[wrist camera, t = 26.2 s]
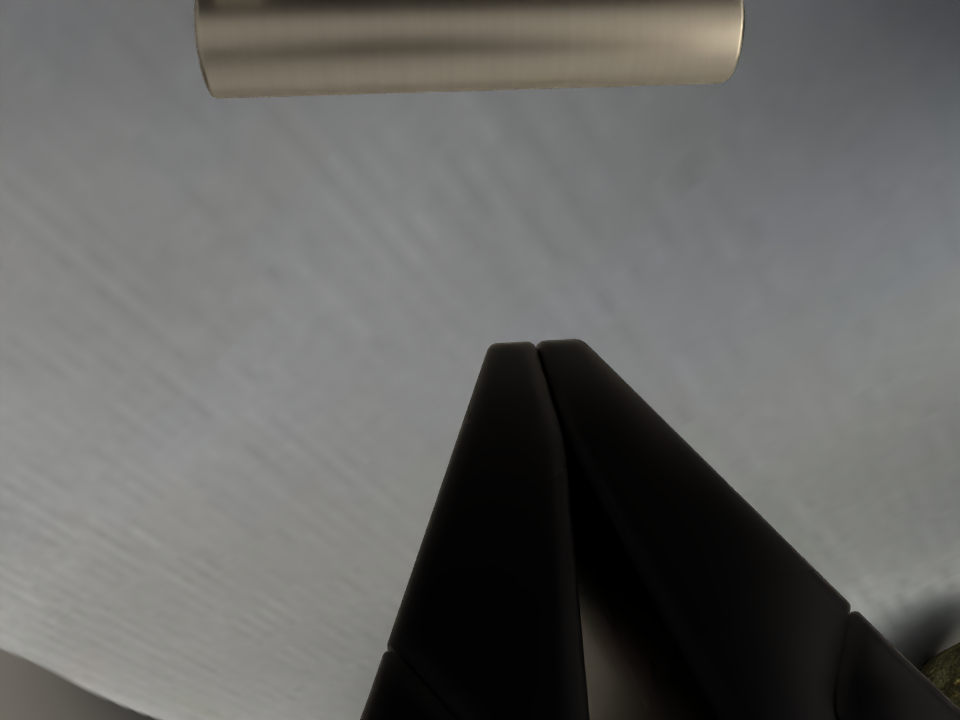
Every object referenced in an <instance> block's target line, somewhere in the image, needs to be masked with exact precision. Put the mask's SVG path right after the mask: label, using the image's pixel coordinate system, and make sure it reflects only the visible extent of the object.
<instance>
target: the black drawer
mask: <svg viewBox="0 0 960 720" xmlns="http://www.w3.org/2000/svg"><path fill="white" fill-rule="evenodd" d="M194 27H195V38H196V46H197V53H198V59H199V64H200V68H201V72H202V76H203V79H204V82H205V85H206V87H207V89H208V91H209V93H210V94H211V96H213V97H215V98H251V97H285V96H318V95H351V94H385V93H418V92H451V91H485V90H518V89H551V88H585V87H618V86H651V85H685V84H718V83H722V82H724V81H726V80H728V79H729V78H730V77H731V75H732V74H733V72H734V70H735V68H736V66H737V63H738V60H739V57H740V53H741V49H742V44H743V38H744V27H745V11H744V0H195V3H194Z"/></svg>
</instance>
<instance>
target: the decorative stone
mask: <svg viewBox="0 0 960 720" xmlns="http://www.w3.org/2000/svg"><path fill="white" fill-rule="evenodd" d="M921 673H922V674H923V675H925V676H926V677H927V678H928V679H929V680H930V681H931V682H932V683H933V684H934V685H935V686H936V687H937V688H938V689H939V690H940V691H942V692H943V693H944V694H945V695H946V696H947V697H948V698H949V699H950V700H951V701H952V702H953V703H954V704H955V705H956V706H957V707H959V708H960V643H958V644H956V645H954V646H952V647H950V648H948V649H946V650H944V651H942V652H941V653H939V654H937V655H936V656H935V657H933V658H932V659H931V660H930V661H929V662H928V663H927V664H926V665H925V666H924V667H923V669H922V670H921Z"/></svg>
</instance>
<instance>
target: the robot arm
mask: <svg viewBox="0 0 960 720" xmlns="http://www.w3.org/2000/svg"><path fill="white" fill-rule="evenodd" d="M387 647H388V651H386V652H385V653H384V654H383V657H382V660H381V662H380V665H379V668H378V671H377V674H376V677H375V680H374V683H373V686H372V689H371V692H370V695H369V697H368V700H367V703H366V705H365V708H364V711H363V713H362V716H361V719H360V720H960V708H959V707H957V706H956V705H955V704H954V703H953V702H952V701H951V700H950V699H949V698H948V697H947V696H946V695H945V694H944V693H943V692H942V691H940V690H939V689H938V688H937V687H936V686H935V685H934V684H933V683H932V682H931V681H930V680H929V679H928V678H927V677H926V676H925V675H923V674H922V673H921V672H920V671H919V670H918V669H917V668H916V667H915V666H914V665H913V664H912V663H911V662H910V661H909V660H908V659H906V658H905V657H904V656H903V655H902V654H901V653H900V652H899V651H898V650H897V649H896V648H895V647H894V646H893V645H892V644H891V643H890V642H889V641H888V640H887V639H886V638H885V637H884V636H883V635H882V634H881V633H880V632H879V631H878V630H877V629H876V628H875V627H874V626H873V625H872V624H871V623H870V622H869V621H868V620H866V619H865V618H864V617H863V616H862V615H861V614H860V613H859V612H857V611H854V612H851V613H850V604H849V602H848V601H847V600H846V599H845V598H844V597H843V596H842V595H841V594H840V593H839V592H838V591H837V590H836V589H835V588H834V587H833V586H832V585H830V584H829V583H828V582H827V581H826V580H825V579H824V578H823V577H822V576H821V575H820V574H819V573H818V572H817V571H816V570H815V569H814V568H813V567H812V566H811V565H810V564H809V563H808V562H807V561H806V560H805V559H804V558H803V557H802V556H801V555H800V554H799V553H798V552H797V551H796V550H795V549H794V548H793V547H792V546H791V545H790V544H789V543H788V542H787V541H786V540H785V539H784V538H783V537H782V536H781V535H780V534H779V533H778V532H777V531H776V530H775V529H774V528H773V527H772V526H771V525H770V524H769V523H768V522H767V521H766V520H765V519H764V518H763V517H762V516H761V515H760V514H759V513H758V512H757V511H756V510H755V509H754V508H753V507H752V506H750V505H749V504H748V503H747V502H746V501H745V500H744V499H743V498H742V497H741V496H740V495H739V494H738V493H737V492H736V491H735V490H734V489H733V488H732V487H731V486H730V485H729V484H728V483H727V482H726V481H725V480H724V479H723V478H722V477H721V476H720V475H719V474H718V473H717V472H716V471H715V470H714V469H713V468H712V467H711V466H710V465H709V464H708V463H707V462H706V461H705V460H704V459H703V458H702V457H701V456H700V455H699V454H698V453H697V452H696V451H695V450H694V449H693V448H692V447H691V446H690V445H689V444H688V443H687V442H686V441H685V440H684V439H683V438H682V437H681V436H680V435H679V434H678V433H677V432H676V431H675V430H674V429H673V428H672V427H670V426H669V425H668V424H667V423H666V422H665V421H664V420H663V419H662V418H661V417H660V416H659V415H658V414H657V413H656V412H655V411H654V410H653V409H652V408H651V407H650V406H649V405H648V404H647V403H646V402H645V401H644V400H643V399H642V398H641V397H640V396H639V395H638V394H637V393H636V392H635V391H634V390H633V389H632V388H631V387H630V386H629V385H628V384H627V383H626V382H625V381H624V380H623V379H622V378H621V377H620V376H619V375H618V374H617V373H616V372H615V371H614V370H613V369H612V368H611V367H610V366H609V365H608V364H607V363H606V362H605V361H604V360H603V359H602V358H601V357H600V356H599V355H598V354H597V353H596V352H595V351H594V350H593V349H592V348H590V347H589V346H588V345H587V344H586V343H585V342H583V341H581V340H579V339H565V340H547V341H541V342H540V343H539V344H538V345H537V346H536V347H535V345H534V344H532V343H531V342H511V343H495V344H492V345H491V346H490V347H489V348H488V350H487V353H486V355H485V358H484V361H483V364H482V367H481V370H480V373H479V376H478V379H477V382H476V385H475V388H474V391H473V394H472V397H471V400H470V403H469V405H468V408H467V411H466V414H465V417H464V420H463V423H462V426H461V429H460V432H459V435H458V438H457V441H456V444H455V447H454V450H453V453H452V456H451V458H450V461H449V464H448V467H447V470H446V473H445V476H444V479H443V482H442V485H441V488H440V491H439V494H438V497H437V500H436V503H435V506H434V508H433V511H432V514H431V517H430V520H429V523H428V526H427V529H426V532H425V535H424V538H423V541H422V544H421V547H420V550H419V553H418V556H417V558H416V561H415V564H414V567H413V570H412V573H411V576H410V579H409V582H408V585H407V588H406V591H405V594H404V597H403V600H402V603H401V606H400V608H399V611H398V614H397V617H396V620H395V623H394V626H393V629H392V632H391V635H390V638H389V641H388V644H387Z"/></svg>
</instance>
